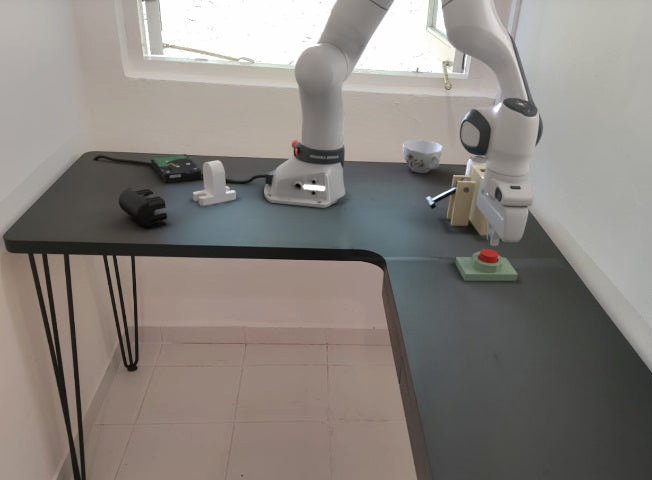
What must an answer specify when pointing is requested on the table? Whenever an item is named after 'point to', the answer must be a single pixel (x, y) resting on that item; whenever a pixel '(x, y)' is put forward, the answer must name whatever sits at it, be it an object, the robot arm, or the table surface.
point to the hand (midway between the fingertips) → (492, 243)
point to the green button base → (485, 269)
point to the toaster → (475, 214)
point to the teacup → (422, 155)
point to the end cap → (143, 207)
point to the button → (488, 256)
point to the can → (475, 162)
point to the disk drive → (176, 168)
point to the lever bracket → (461, 200)
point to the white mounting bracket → (214, 185)
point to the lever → (442, 196)
